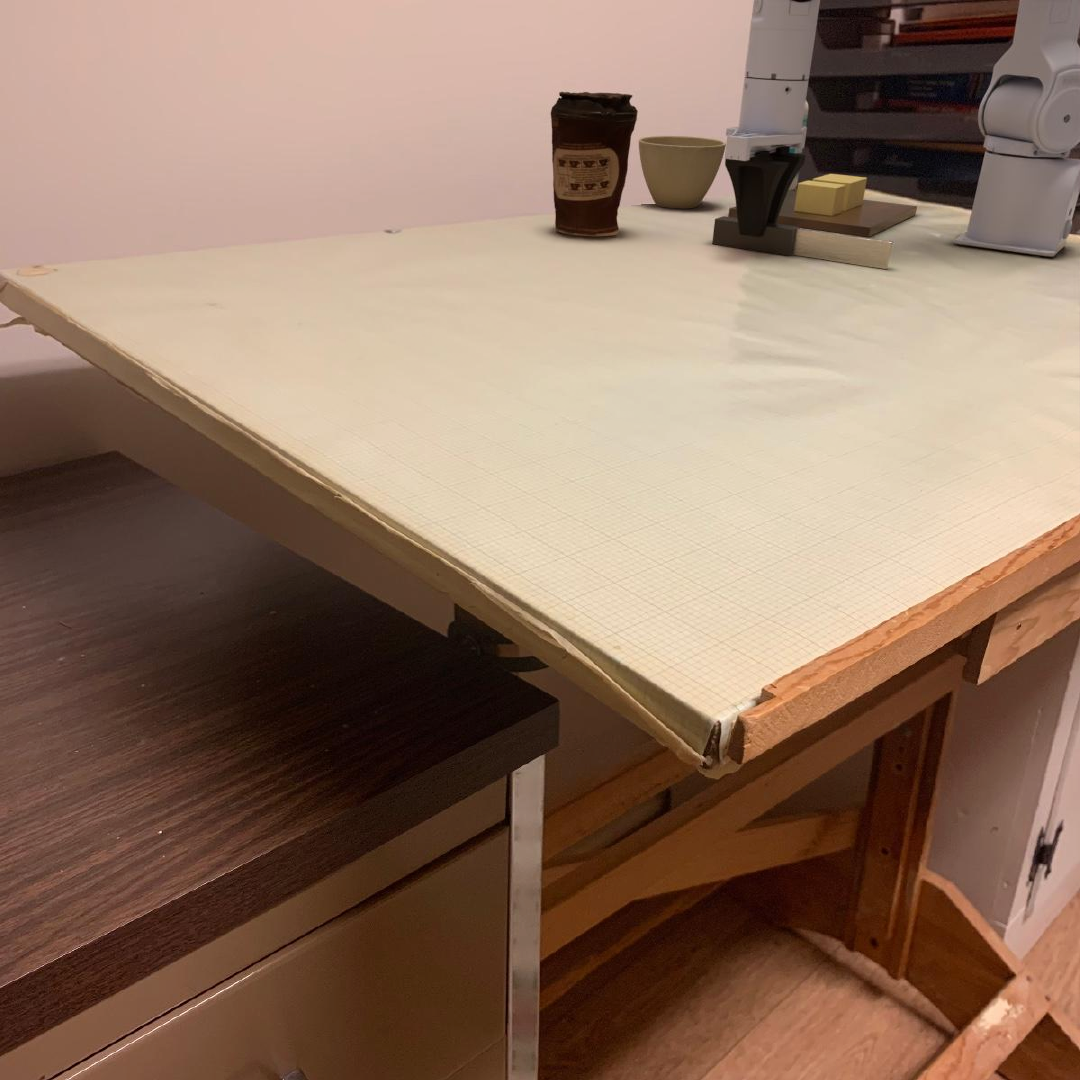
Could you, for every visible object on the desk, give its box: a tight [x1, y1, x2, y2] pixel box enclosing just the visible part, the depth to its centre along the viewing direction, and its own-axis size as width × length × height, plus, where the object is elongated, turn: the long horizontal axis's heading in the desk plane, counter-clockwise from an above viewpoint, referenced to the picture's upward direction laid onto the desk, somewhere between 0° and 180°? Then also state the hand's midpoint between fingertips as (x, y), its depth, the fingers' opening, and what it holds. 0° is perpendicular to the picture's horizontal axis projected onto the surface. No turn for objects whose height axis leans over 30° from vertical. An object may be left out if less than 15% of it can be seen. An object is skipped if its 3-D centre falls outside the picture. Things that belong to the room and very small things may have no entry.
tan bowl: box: [638, 135, 727, 209], centre depth 115 cm, size 10×10×7 cm
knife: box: [711, 216, 894, 270], centre depth 93 cm, size 17×2×2 cm, turn 56°
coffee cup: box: [550, 91, 639, 237], centre depth 97 cm, size 9×8×13 cm
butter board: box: [727, 190, 918, 238], centre depth 114 cm, size 16×18×1 cm
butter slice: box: [794, 180, 846, 216], centre depth 109 cm, size 4×3×3 cm
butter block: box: [812, 173, 868, 211], centre depth 114 cm, size 4×6×3 cm
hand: (755, 233), depth 96 cm, fingers closed
